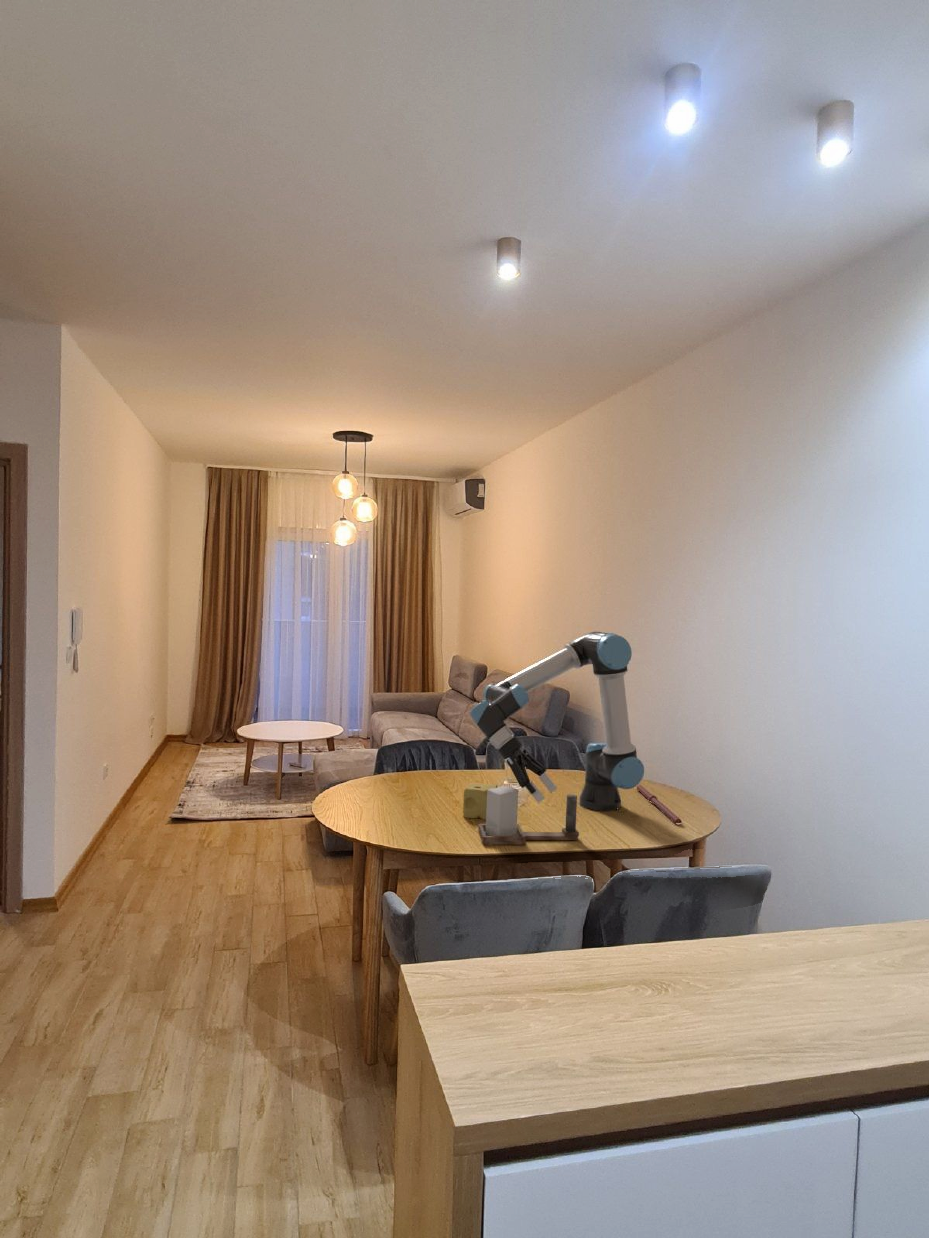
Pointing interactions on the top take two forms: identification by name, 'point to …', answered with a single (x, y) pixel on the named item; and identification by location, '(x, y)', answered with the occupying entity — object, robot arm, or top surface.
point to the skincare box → (502, 811)
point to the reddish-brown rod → (658, 804)
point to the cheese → (476, 800)
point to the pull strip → (566, 833)
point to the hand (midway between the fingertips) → (548, 795)
